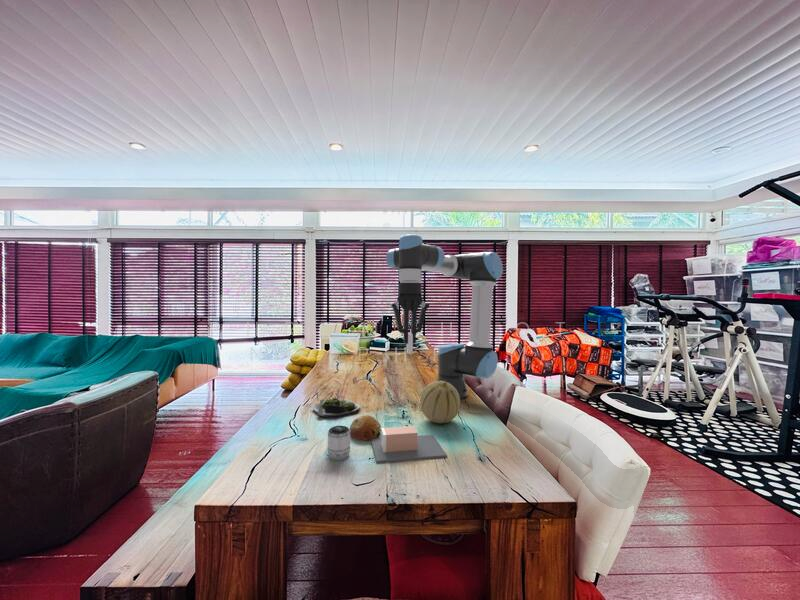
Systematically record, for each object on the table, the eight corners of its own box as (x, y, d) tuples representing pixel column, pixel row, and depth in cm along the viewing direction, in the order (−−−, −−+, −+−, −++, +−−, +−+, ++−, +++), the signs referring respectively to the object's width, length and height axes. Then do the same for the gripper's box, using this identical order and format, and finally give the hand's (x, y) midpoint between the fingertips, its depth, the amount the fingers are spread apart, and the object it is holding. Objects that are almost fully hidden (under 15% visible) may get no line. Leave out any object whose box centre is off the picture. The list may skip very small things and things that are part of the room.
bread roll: (371, 438, 116) (365, 414, 119) (390, 434, 109) (383, 409, 112) (347, 447, 109) (342, 422, 112) (365, 443, 103) (359, 416, 105)
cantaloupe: (432, 411, 133) (432, 373, 132) (466, 420, 124) (467, 379, 124) (411, 423, 121) (411, 381, 120) (448, 433, 112) (448, 388, 112)
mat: (432, 436, 110) (432, 434, 110) (446, 457, 96) (446, 455, 96) (371, 440, 106) (371, 439, 106) (376, 462, 92) (376, 460, 92)
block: (413, 426, 104) (381, 428, 102) (417, 432, 99) (383, 435, 97) (413, 442, 104) (381, 444, 102) (417, 449, 99) (383, 452, 97)
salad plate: (302, 407, 137) (302, 396, 137) (342, 399, 147) (342, 389, 147) (322, 422, 121) (322, 409, 121) (365, 412, 132) (365, 400, 132)
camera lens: (336, 448, 100) (336, 422, 100) (354, 453, 98) (354, 426, 97) (322, 458, 95) (323, 430, 94) (341, 463, 92) (341, 434, 92)
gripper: (426, 283, 117) (425, 351, 118) (388, 282, 115) (388, 351, 115) (432, 282, 110) (431, 355, 110) (392, 281, 107) (392, 356, 108)
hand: (409, 353), depth 113 cm, fingers closed
